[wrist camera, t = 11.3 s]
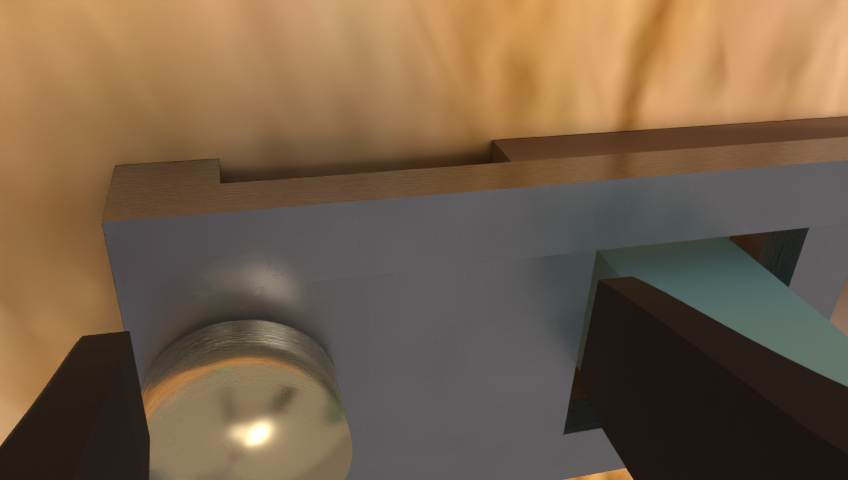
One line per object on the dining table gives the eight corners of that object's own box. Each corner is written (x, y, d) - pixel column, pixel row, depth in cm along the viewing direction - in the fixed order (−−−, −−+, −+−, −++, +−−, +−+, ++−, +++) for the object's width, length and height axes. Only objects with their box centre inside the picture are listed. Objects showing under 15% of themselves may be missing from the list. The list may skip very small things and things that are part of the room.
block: (677, 328, 26) (863, 534, 19) (562, 344, 25) (712, 569, 18) (705, 219, 24) (930, 404, 17) (581, 231, 23) (762, 435, 16)
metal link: (733, 383, 29) (831, 490, 24) (174, 474, 24) (167, 630, 19) (819, 118, 23) (967, 193, 19) (115, 165, 18) (87, 282, 14)
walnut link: (937, 350, 31) (1022, 413, 28) (466, 426, 26) (504, 514, 23) (1059, 102, 26) (1183, 145, 22) (493, 140, 21) (547, 203, 17)
